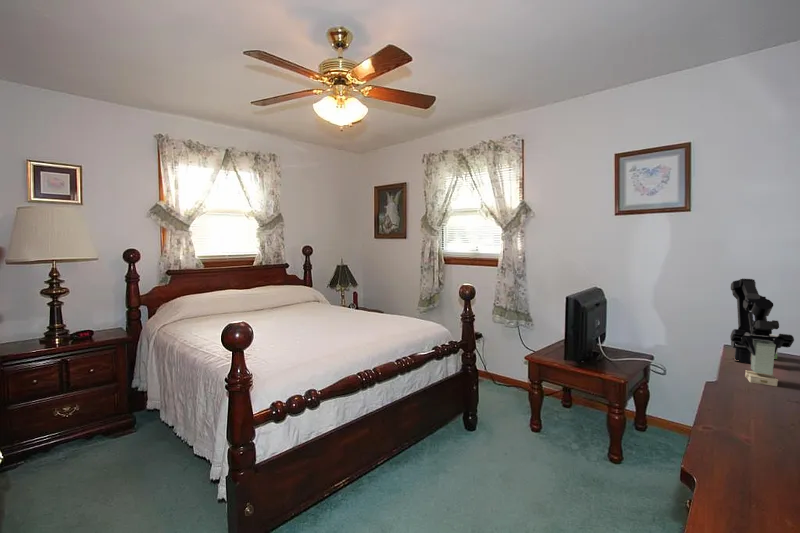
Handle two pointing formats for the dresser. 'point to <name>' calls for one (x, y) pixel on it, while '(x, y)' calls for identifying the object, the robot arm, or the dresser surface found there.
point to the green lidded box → (763, 357)
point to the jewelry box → (761, 378)
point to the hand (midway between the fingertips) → (763, 356)
